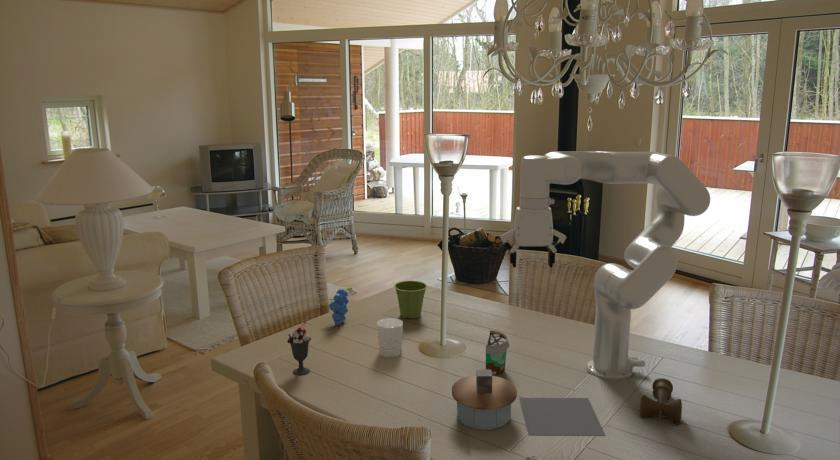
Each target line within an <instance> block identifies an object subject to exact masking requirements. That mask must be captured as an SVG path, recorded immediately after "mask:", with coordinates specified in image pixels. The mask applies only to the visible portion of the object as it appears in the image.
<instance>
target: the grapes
mask: <svg viewBox="0 0 840 460" xmlns="http://www.w3.org/2000/svg"><path fill="white" fill-rule="evenodd" d="M348 295H349V294H348V292H347V291H346V290H345V289H343V288H339V289H338V290H337V291H336V293H335V295H334V296H333V300H334V301H331V302H330V303H329V304H328V308H329V310H330V311H332V312H333V313H331V314H332V315H331V318H332V319H333V322H334V324H335V325H337V326H340V325H341V324H342V323H344V321H346V316H345V315H346V314H347V313H348V311H349V309H348V307H347V305H348V303H350V300H349V299H348Z"/></svg>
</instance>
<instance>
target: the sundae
mask: <svg viewBox="0 0 840 460" xmlns="http://www.w3.org/2000/svg"><path fill="white" fill-rule="evenodd" d="M306 324H307V321H304V322H303V324H301V327H297V329H296V330H294V331H293V332H292V335H291V334H287V335H288V339H287V343H288V344H290V348H291V352H292V356H293V359H295V361H297V362H298V368H295V369H293V370H292V375H295V376H299V377H300V376H301V377H302V376H305V375H308V374H309V373H310V372H311V370H310V369H309V368H308V367H305V366H304V361H305V360H306V359H307V357H308V354H309V344H310V341H311V340H312V338H311V336H310V335H309V334H308V333H307V330H306V328H302V327H304V326H305V325H306Z"/></svg>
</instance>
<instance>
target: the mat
mask: <svg viewBox="0 0 840 460" xmlns="http://www.w3.org/2000/svg"><path fill="white" fill-rule="evenodd" d="M519 403H520V406H521V407H520V408H521V410H522V415H523V419H524V422H525V427H526V431H527V433H528V436H543V437H544V436H547V437H549V436H550V437H551V436H560V437H561V436H564V437H567V436H571V437H575V436H576V437H578V436H579V437H580V436H581V437H585V436H586V437H591V436H592V437H594V436H595V437H606V433H605V430H604V429H603V426H602V425H601V423H600V421H599V418H598V416H597V414H596V412H595V410H594V407H593V405H592V403H591V401H590V399H589V397H519Z"/></svg>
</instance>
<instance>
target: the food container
mask: <svg viewBox="0 0 840 460" xmlns="http://www.w3.org/2000/svg"><path fill="white" fill-rule="evenodd" d="M509 347H510V342H509V339H508V336H507V335H506V334H505V333H503V332H500V331H497V330H489V337H488V339H487V344H486V345H485V370H491V372H492V376H498V375H503V374H504V373H505V372H506V371H505V370H506V362H507V361H506V360H507V352H508V351H507V350H508V348H509Z"/></svg>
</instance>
